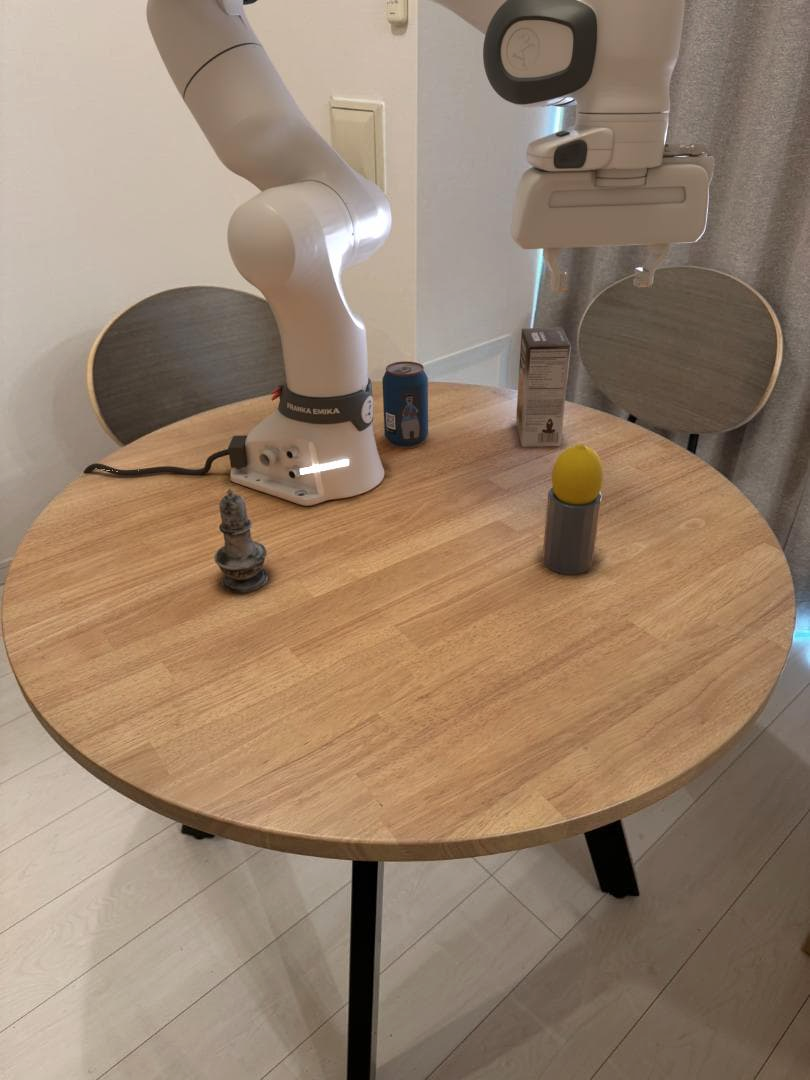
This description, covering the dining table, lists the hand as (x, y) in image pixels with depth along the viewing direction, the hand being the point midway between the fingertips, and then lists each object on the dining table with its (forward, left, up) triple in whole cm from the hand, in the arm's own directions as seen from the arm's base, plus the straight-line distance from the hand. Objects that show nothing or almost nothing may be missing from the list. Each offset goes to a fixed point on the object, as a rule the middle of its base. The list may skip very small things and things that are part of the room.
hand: (600, 288), depth 81 cm
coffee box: (-11, +23, -29) cm, 39 cm away
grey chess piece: (-33, -28, -29) cm, 52 cm away
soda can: (-30, +14, -29) cm, 44 cm away
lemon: (+1, -11, -22) cm, 25 cm away
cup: (+1, -11, -29) cm, 31 cm away
